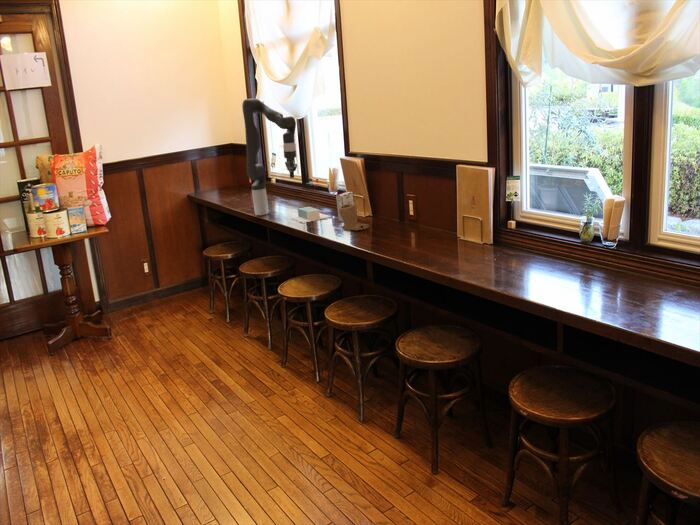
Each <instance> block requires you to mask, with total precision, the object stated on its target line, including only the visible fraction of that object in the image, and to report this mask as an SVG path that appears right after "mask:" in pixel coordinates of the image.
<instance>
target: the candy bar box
mask: <svg viewBox="0 0 700 525" xmlns="http://www.w3.org/2000/svg"><path fill="white" fill-rule="evenodd" d="M335 199H336V209H337V217H338V222H339V221H341V222H340V223H344V222H343V219H342V218H341V216H340V213H339V207H340V206H342V205H345V204H352V203H353V204H355V200H354V192H353V191H345V192H343V193H342V192H341V193H339V194H337V195H335Z"/></svg>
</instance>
